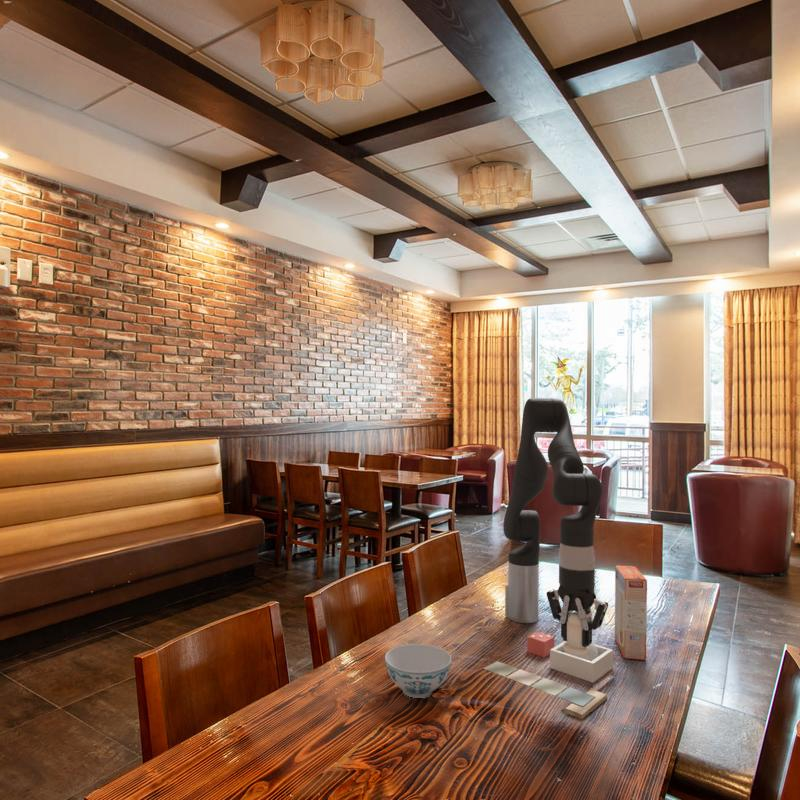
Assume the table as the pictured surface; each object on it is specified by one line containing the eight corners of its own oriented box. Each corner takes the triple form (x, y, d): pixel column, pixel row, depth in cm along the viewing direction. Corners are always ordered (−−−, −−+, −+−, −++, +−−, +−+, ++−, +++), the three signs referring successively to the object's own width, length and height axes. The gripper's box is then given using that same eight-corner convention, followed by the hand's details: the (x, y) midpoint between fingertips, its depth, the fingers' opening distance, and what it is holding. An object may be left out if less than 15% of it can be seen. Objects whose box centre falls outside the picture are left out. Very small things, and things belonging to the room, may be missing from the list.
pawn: (559, 651, 125) (559, 612, 126) (570, 644, 129) (570, 607, 130) (581, 658, 122) (582, 618, 122) (592, 651, 126) (592, 612, 126)
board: (471, 675, 137) (471, 670, 137) (499, 660, 146) (499, 655, 146) (582, 719, 118) (581, 713, 118) (606, 699, 127) (606, 693, 127)
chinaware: (460, 684, 133) (460, 651, 133) (436, 715, 119) (437, 677, 119) (401, 671, 139) (401, 639, 139) (372, 699, 126) (373, 663, 126)
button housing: (549, 672, 140) (550, 649, 140) (571, 659, 148) (571, 637, 148) (593, 687, 132) (593, 663, 132) (613, 672, 140) (613, 649, 140)
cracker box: (647, 661, 147) (648, 579, 147) (623, 659, 148) (623, 577, 148) (636, 640, 160) (636, 565, 161) (614, 638, 162) (614, 564, 162)
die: (527, 656, 149) (527, 636, 149) (537, 650, 153) (537, 631, 153) (544, 661, 146) (544, 641, 146) (554, 656, 149) (554, 636, 149)
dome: (558, 671, 140) (558, 638, 140) (573, 661, 145) (574, 629, 146) (589, 682, 134) (590, 648, 134) (604, 671, 140) (604, 638, 140)
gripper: (539, 561, 128) (538, 639, 128) (600, 574, 119) (600, 657, 118) (555, 555, 134) (555, 630, 133) (615, 567, 124) (615, 647, 123)
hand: (576, 642), depth 126 cm, fingers closed on pawn, 4 cm apart
